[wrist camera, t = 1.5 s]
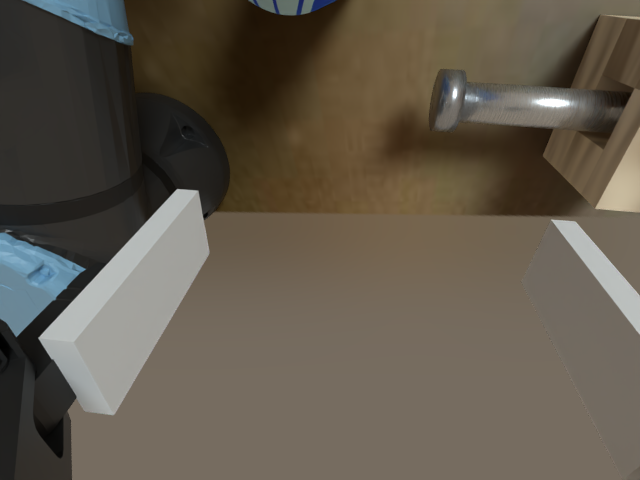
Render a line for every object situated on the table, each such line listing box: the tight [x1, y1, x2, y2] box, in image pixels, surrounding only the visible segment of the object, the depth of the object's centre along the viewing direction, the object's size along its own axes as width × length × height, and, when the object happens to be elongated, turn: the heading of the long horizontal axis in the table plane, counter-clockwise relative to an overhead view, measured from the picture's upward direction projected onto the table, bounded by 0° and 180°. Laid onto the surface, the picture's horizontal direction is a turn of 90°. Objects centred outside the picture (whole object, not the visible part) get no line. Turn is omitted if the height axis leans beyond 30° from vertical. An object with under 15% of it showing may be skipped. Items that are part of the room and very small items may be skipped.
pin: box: [429, 69, 633, 133], centre depth 28 cm, size 16×5×5 cm, turn 88°
